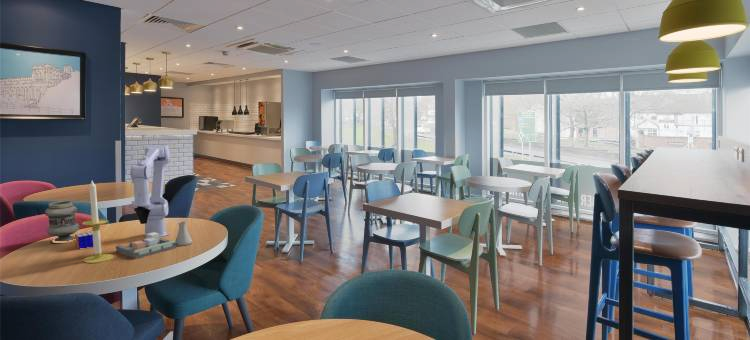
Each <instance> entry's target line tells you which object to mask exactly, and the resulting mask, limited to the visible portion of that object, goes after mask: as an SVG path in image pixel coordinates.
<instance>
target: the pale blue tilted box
mask: <svg viewBox="0 0 750 340" xmlns="http://www.w3.org/2000/svg"><path fill="white" fill-rule="evenodd" d="M144 241H145V247H150V246H154V245H157V239H155V238H148V239H147V238H145V239H144Z"/></svg>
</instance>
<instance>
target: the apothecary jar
mask: <svg viewBox="0 0 750 340" xmlns="http://www.w3.org/2000/svg"><path fill="white" fill-rule="evenodd" d="M77 212H78V207H77V206H76V205H74V204H73V201H72V200H61V201H54V202H50V203H49V204H48V208H46V209H45V211H44V214H45V216H47V217H48V222H49V226H48V227H47V228H46V233H47V234H48V235H50V236H52V237H56V238H54V239H55V241H69V240H73V239H76V238H75V236H74V234H75V233H77V232H78V231H79V230H80V228H81V226H80V224H79V223H77V221H76V213H77Z"/></svg>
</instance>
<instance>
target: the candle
mask: <svg viewBox="0 0 750 340" xmlns="http://www.w3.org/2000/svg"><path fill="white" fill-rule="evenodd" d="M97 196H98V195H97V185H96V184H95V183H94V181H93V180H91V182H90V185H89V199H90V213H91V220H90V219H89V220H85V221H83V222H82V225H83V226H91V233H92V234H93V246H94V247H93V255H90V256H87V257H86V258H84V259H83V260H82V262H83V261H84V262H86V263H85V264H98V263H103V262H107V261H109V260H112V259H113V258H114V255H113V254H109V253H102V243H101V242H102V241H101V240H102V239H101V228H100V225H103V224H107V223H108V222H109V220H108V219H105V218H99V209H98V208H99V207H98V197H97ZM84 262H83V263H84Z"/></svg>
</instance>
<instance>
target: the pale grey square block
mask: <svg viewBox="0 0 750 340" xmlns="http://www.w3.org/2000/svg"><path fill="white" fill-rule="evenodd" d="M148 238H155V239H157V243H159V242H160V241H159V238H160V237H159V233H155V232H153V233H149V234H147V236H146V239H148Z"/></svg>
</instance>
